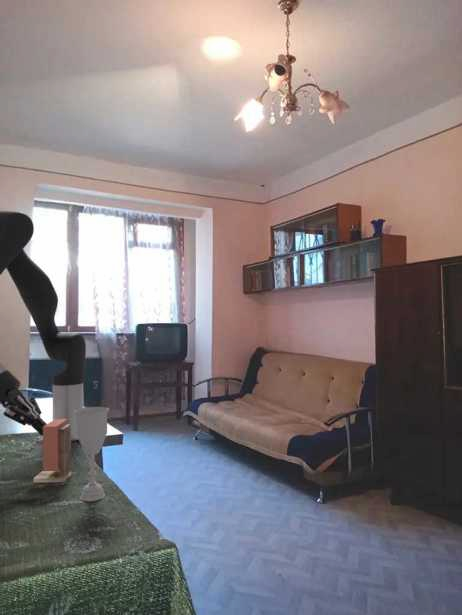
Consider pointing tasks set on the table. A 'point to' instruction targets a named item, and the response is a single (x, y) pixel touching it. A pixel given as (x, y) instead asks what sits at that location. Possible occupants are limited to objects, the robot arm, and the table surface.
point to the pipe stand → (64, 458)
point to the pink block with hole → (52, 444)
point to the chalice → (92, 444)
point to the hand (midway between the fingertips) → (46, 432)
